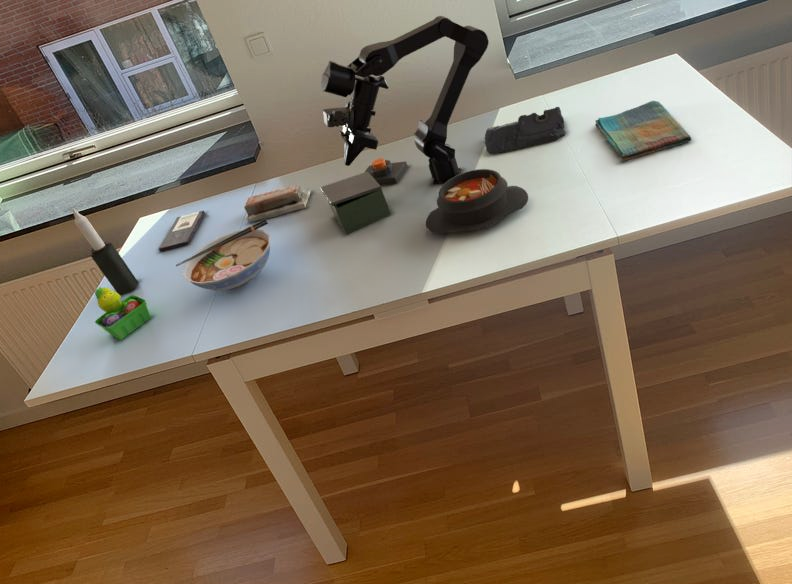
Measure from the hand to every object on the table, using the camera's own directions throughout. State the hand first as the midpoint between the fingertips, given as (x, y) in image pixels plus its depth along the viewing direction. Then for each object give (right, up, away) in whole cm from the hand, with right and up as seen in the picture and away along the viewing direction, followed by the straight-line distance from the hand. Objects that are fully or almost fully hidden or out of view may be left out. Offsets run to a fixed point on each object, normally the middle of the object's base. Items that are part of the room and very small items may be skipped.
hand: (346, 165), depth 175 cm
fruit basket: (-53, -40, -1) cm, 67 cm away
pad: (+7, +3, +23) cm, 25 cm away
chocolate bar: (-53, -11, +33) cm, 64 cm away
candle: (-61, -29, +15) cm, 70 cm away
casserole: (+33, -15, -8) cm, 36 cm away
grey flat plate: (0, -5, +4) cm, 6 cm away
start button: (+6, +5, +21) cm, 23 cm away
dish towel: (+74, +8, 0) cm, 74 cm away
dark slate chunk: (+46, +13, +18) cm, 51 cm away
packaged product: (-23, -5, +27) cm, 36 cm away
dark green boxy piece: (+3, -11, +9) cm, 14 cm away
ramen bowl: (-27, -28, +2) cm, 39 cm away
